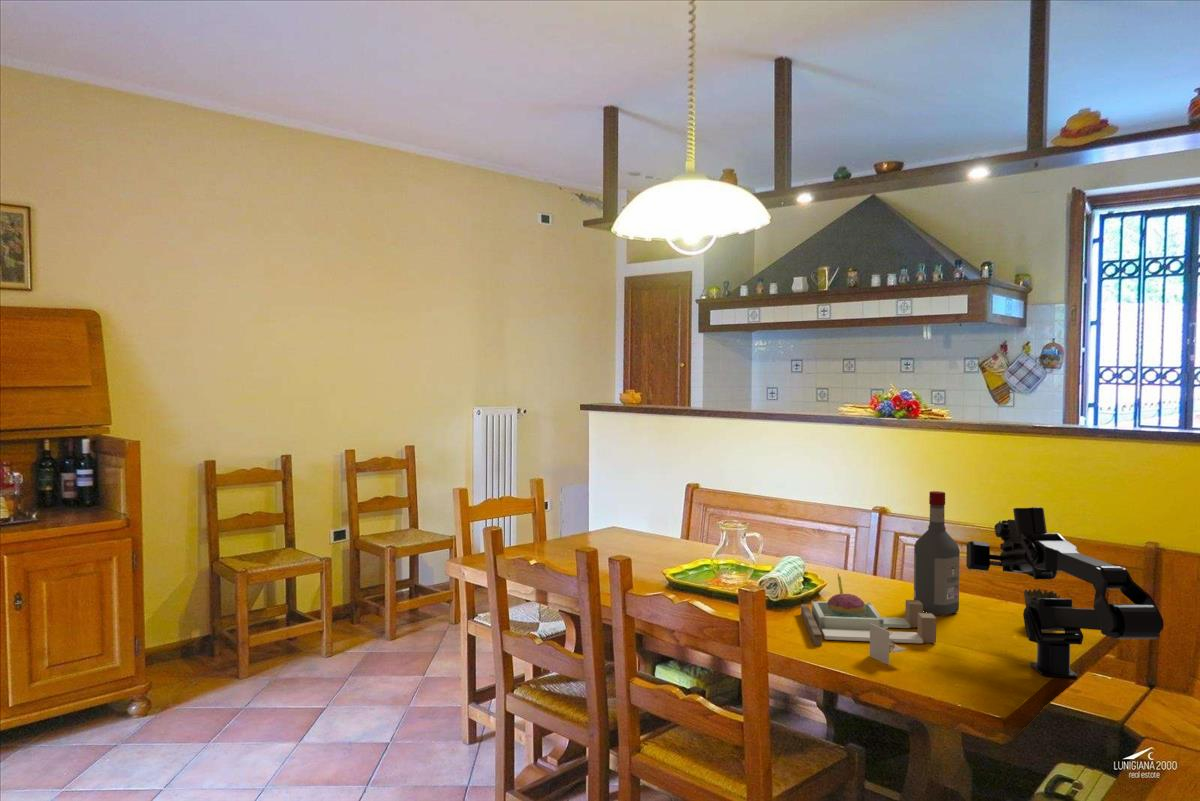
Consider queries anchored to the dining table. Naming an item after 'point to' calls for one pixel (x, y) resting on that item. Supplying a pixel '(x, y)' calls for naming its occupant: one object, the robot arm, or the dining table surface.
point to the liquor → (937, 563)
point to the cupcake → (845, 604)
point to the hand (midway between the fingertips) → (993, 562)
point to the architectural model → (882, 644)
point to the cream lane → (891, 632)
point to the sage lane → (864, 623)
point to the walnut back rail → (811, 625)
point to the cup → (1038, 595)
